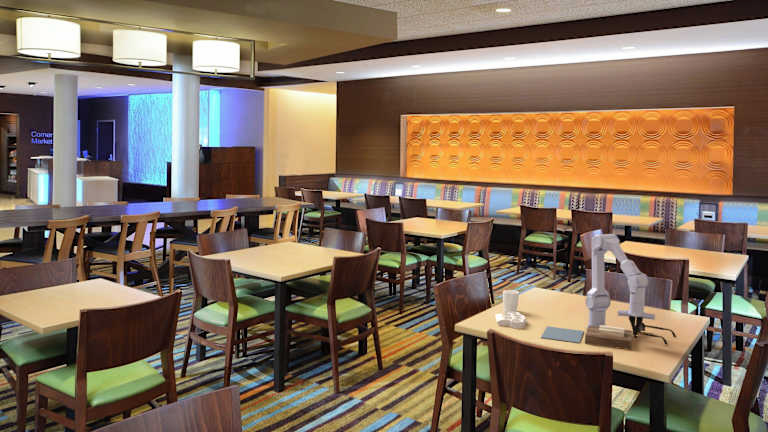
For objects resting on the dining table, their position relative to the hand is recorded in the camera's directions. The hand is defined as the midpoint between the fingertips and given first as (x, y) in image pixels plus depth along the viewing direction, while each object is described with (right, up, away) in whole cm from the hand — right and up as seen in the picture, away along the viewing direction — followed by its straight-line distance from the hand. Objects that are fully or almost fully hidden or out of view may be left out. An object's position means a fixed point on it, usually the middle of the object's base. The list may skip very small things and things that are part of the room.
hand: (634, 334), depth 255 cm
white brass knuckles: (-46, -1, +29) cm, 54 cm away
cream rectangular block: (-8, 0, +4) cm, 9 cm away
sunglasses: (+12, -4, +10) cm, 16 cm away
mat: (-27, -3, +12) cm, 30 cm away
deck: (-9, -4, +4) cm, 11 cm away
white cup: (-42, +2, +50) cm, 65 cm away
